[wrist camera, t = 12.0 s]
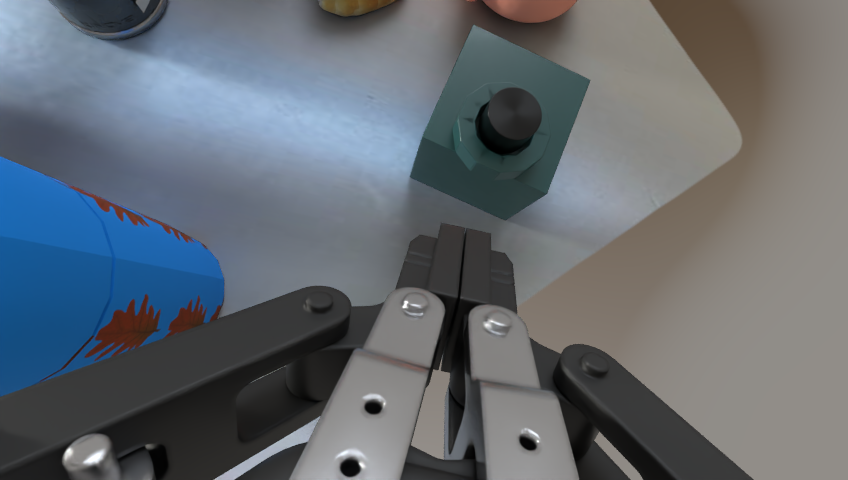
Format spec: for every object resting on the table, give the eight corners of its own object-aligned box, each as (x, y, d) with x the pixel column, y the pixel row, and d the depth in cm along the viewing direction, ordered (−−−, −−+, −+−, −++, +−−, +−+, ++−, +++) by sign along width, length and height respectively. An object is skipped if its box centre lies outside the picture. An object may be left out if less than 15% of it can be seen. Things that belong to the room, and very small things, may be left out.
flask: (502, 228, 42) (554, 197, 30) (405, 185, 41) (420, 136, 29) (541, 130, 44) (604, 65, 32) (449, 88, 43) (479, 6, 31)
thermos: (251, 267, 38) (44, 198, 14) (181, 380, 36) (-208, 533, 12) (139, 207, 38) (-277, 26, 13) (62, 318, 36) (-594, 342, 11)
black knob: (517, 161, 30) (530, 148, 28) (470, 140, 30) (479, 125, 28) (535, 117, 31) (549, 101, 29) (489, 96, 31) (500, 77, 28)
